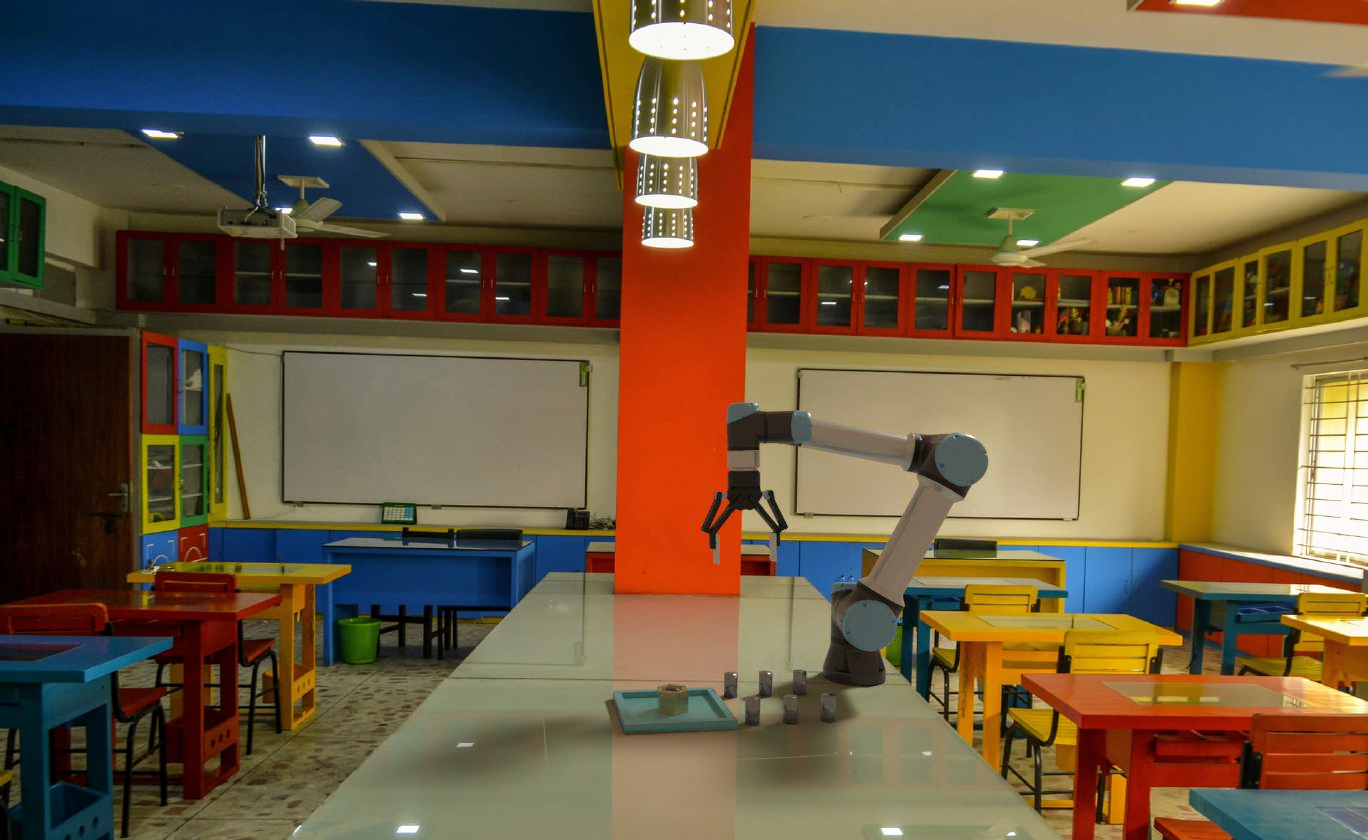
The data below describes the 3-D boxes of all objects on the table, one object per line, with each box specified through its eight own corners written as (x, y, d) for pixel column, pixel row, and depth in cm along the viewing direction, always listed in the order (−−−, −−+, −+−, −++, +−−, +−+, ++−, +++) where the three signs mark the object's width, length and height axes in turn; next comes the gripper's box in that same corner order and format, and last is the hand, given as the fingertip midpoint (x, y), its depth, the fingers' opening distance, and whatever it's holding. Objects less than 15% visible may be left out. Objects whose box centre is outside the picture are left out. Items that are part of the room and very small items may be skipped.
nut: (683, 704, 176) (683, 682, 177) (689, 715, 170) (690, 692, 170) (655, 705, 175) (655, 683, 175) (660, 716, 168) (661, 693, 169)
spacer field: (803, 691, 190) (804, 669, 190) (837, 721, 169) (838, 697, 169) (722, 694, 186) (722, 671, 186) (747, 725, 166) (747, 700, 166)
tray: (712, 695, 185) (712, 687, 185) (737, 729, 164) (737, 719, 164) (612, 698, 181) (612, 690, 181) (624, 734, 159) (625, 724, 159)
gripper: (789, 468, 199) (790, 557, 198) (687, 470, 193) (688, 562, 192) (800, 469, 191) (802, 561, 191) (695, 471, 186) (696, 566, 185)
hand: (745, 562), depth 192 cm, fingers open, 13 cm apart
